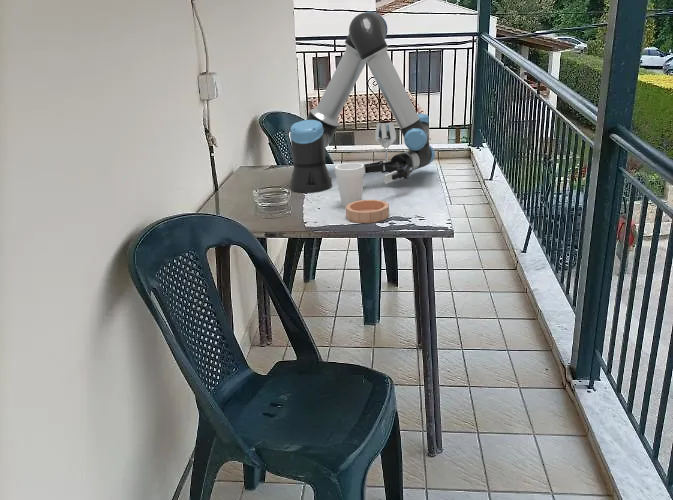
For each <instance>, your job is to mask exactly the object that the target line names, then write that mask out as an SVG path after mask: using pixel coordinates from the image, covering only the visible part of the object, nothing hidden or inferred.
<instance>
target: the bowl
mask: <svg viewBox="0 0 673 500" xmlns="http://www.w3.org/2000/svg"><path fill="white" fill-rule="evenodd" d="M345 215H346V219H347V220H348V221H350V222H351V223H357V224H373V223H379V222H383V221H385V220H387V219H388V218H389V217H390V204H389V203H388V202H387V201H386V200H385V201H384V200H380V199H362V200H360V201H355V202H352V203H350V204H347V206H346V207H345Z"/></svg>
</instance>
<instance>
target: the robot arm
mask: <svg viewBox="0 0 673 500" xmlns="http://www.w3.org/2000/svg"><path fill="white" fill-rule="evenodd" d="M387 35H388V24H387V22H386V19H385V18H384V17H383V16H382V15H380V14H379V13H378V12H376V11H372V10H371V11H369V10H368V11H366V12H361V13H359V14H357V15H355V17H353V18H352V20H351V22H350V24H349V29H348V35H347V36H346V38H345V41H344V44H345V50H344V53H343V55H342V56H341V59H340V60H339V62H338V64H337V67H336V69H335V71H333V75H332V77H331V78H330V81H329V82H328V84H327V87H326V88H325V91H324V93H323V94H322V96H321V99H320V100H319V102H318V104H317V107H315V108H312V109H311V110H310V111H309V113H308V115H307V117H306V119H304V120H299V121H298V122H295V123H292V125H291V126H290V133H289V136H290V143H291V153H292V163H293V168H292V169H293V170H292V174H291V180H290V190H291V191H293V192H297V193H317V192H322V191H326V190H328V189H331V188H332V187H333V182H332V177H331V176H330V173H329V170H328V168H327V164H326V151H325V149H326V148H327V147H328V146H329V145H330V144H331V142H332V141H333V139H334V135H335V133H336V131H337V128H338V127H339V126H340V123H339V121H338V118H339V116H340V114H341V112H342V110H343V109H344V107H345V105H346V102H347V101H348V99H349V97H350V95H351V93H352V91H353V89H354V87H355V85H356V83H357V81H358V80H359V78H360V76H361V74H362V72H363V70H364V68H365V67H366V65H367V67H368V68H369V70H370V72H371V74H372V76H373V78H374V80H375V82H376V84H377V85H378V88H379V90H380V92H381V94H382V96H383V98H384V100H385V102H386V104H387V106H388V107H389V110H390V112H391V114H392V115H393V118H394V120H395V122H396V124H397V126H398V127H399V129H400V132H401V134H402V137H403V142H404V144H405V145H404V146H406V147H407V148H408V150H406V151H403V152H400V153H398V154H395V155H394V156H392V158H391V159H390V160H389V161H388V162H386V161H385V162H384V160H379V161H376V162H375V161H374V162H370V163H365V164H363V165H364V176H366V174H372V173H373V174H374V173H383V174H384V175H383V181H384V184H389V183H391V182H394V181H396V180H398V179H400V180H401V179H402V178H403V179H404V180H407V179H408V177H409V176H410V174H411V173H412V172H413V171H416V170H419V169H421V168H424V167H427V166H428V165H430V164H431V163H432V162H433V161H434V160H435V157H436V153H435V150H434V148H433V147H432V146H431V144H430V117H429V115H428V114H427V113H417V110H416V109H415V107H414V105H413V103H412V100H411V99H410V97H409V94H408V92H407V90H406V88H405V86H404V84H403V82H402V80H401V78H400V76H399V73H398V72H397V69H396V67H395V66H394V63H393V61H392V59H391V57H390V55H389V53H388V48H389V46H388V44H387V41H386V38H387ZM383 167H385V169H383ZM385 173H387V174H385Z"/></svg>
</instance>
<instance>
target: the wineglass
mask: <svg viewBox="0 0 673 500" xmlns="http://www.w3.org/2000/svg"><path fill="white" fill-rule="evenodd" d="M375 128H376V129H375V134H374V138H375V141H376V142H377V144H379V145H380V146H381V147H382V148H383V149H384V151H385V153H384V155H385V162H388V149H389V148H390V146H392V145H393V143H394V142H395V141H396V139H397V134H396V133H397V132H396V129H395V125H394V123H393V120H388V119H387V120H380V121H377V124H376V127H375ZM383 170H385V167H383Z"/></svg>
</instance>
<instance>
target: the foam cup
mask: <svg viewBox="0 0 673 500" xmlns="http://www.w3.org/2000/svg"><path fill="white" fill-rule="evenodd" d="M334 174H335V177H336V182H337V183H336V184H337V186H338V192H339V197H340V201H341V205H342V207H343V208H346V206H347V204H350V203H352V202H355V201H360V200H363V190H364V189H363V187H364V176H365V175H364V164H363V163H360V162H346V163H345V162H344V163H339V164H337V165H335V166H334Z"/></svg>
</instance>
